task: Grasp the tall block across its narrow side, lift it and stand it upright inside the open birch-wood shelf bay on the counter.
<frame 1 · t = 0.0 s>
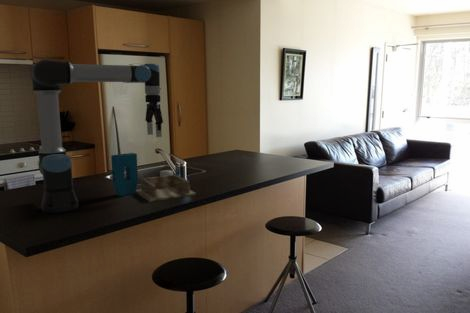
hand: (154, 135, 209), 28 cm above the worktop, fingers open, 13 cm apart
block: (126, 194, 202), on the worktop
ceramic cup: (166, 185, 219), on the worktop
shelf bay: (165, 193, 202), on the worktop
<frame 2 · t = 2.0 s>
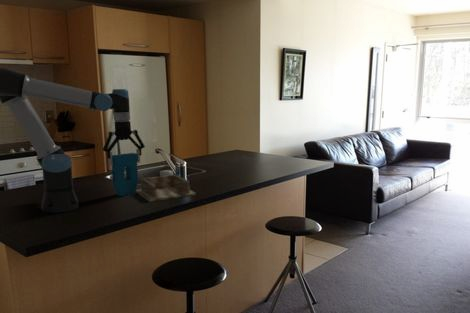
hand: (125, 163, 199), 15 cm above the worktop, fingers open, 13 cm apart
nothing on the worktop moved.
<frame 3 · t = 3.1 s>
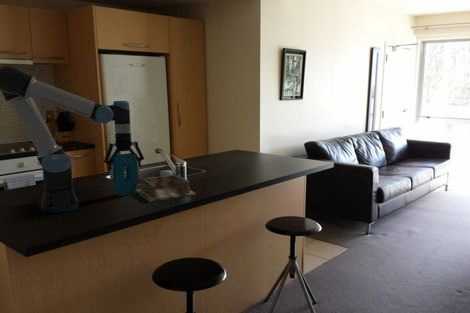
hand: (125, 175, 200), 9 cm above the worktop, fingers closed on block, 12 cm apart
block: (126, 194, 202), on the worktop, touching gripper
everything else where it was.
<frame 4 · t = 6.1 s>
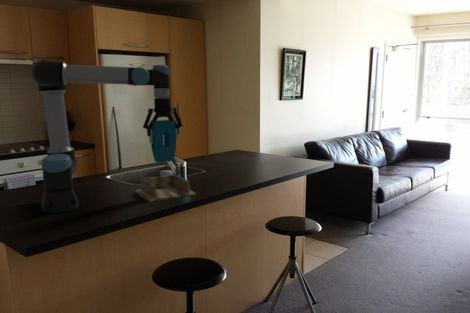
hand: (163, 142, 197), 26 cm above the worktop, fingers closed on block, 12 cm apart
block: (164, 161, 199), point 17 cm above the worktop, touching gripper
everything else where it was.
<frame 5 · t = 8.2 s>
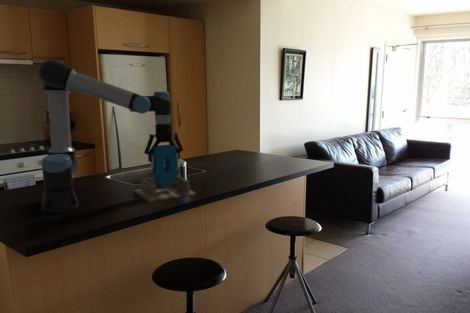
hand: (164, 166, 199), 14 cm above the worktop, fingers closed on block, 12 cm apart
block: (165, 185, 201), point 4 cm above the worktop, touching gripper
everything else where it was.
when the fingers open (13 cm above the worktop, at t = 9.2 s): block drops 2 cm, resting on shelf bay.
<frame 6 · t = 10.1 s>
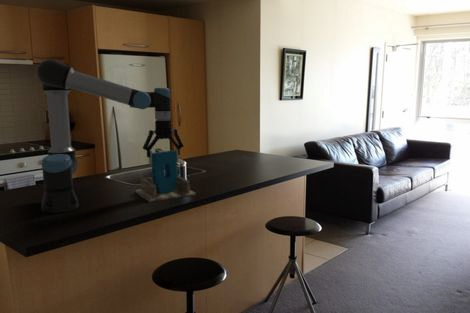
hand: (163, 162, 199), 16 cm above the worktop, fingers open, 13 cm apart
block: (165, 192, 201), point 1 cm above the worktop, touching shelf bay
everything else where it was.
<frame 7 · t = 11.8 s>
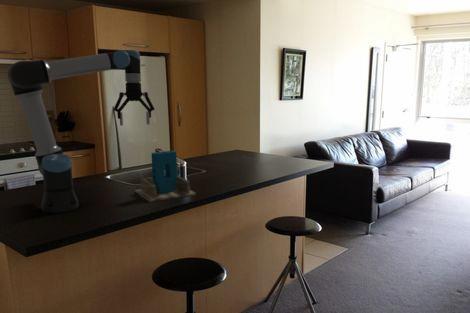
hand: (135, 124, 203), 34 cm above the worktop, fingers open, 13 cm apart
nothing on the worktop moved.
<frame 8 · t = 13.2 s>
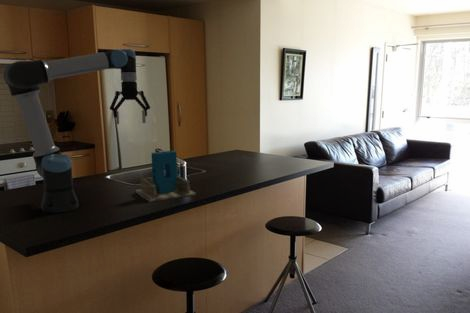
hand: (131, 123, 204), 35 cm above the worktop, fingers open, 13 cm apart
nothing on the worktop moved.
at the end: block inside the target area on the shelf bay (0.1 cm from its centre), point 0.8 cm above the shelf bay's base; block tilted 0°; the gripper is holding nothing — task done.
